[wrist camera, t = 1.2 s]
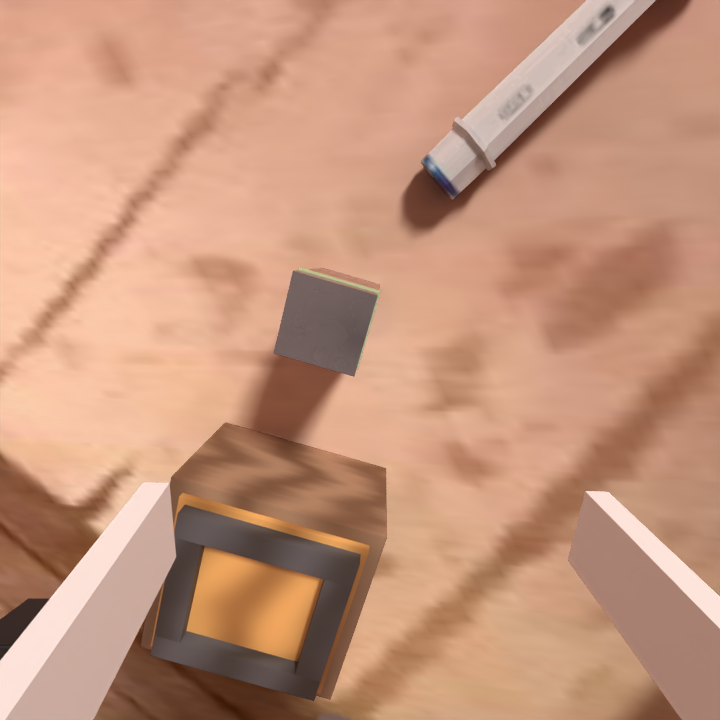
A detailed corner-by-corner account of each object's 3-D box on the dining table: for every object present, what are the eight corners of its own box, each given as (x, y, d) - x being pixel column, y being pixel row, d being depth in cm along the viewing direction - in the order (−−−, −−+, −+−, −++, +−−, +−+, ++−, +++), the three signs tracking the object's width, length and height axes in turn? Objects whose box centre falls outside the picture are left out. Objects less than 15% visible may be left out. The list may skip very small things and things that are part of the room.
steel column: (381, 283, 34) (380, 294, 23) (364, 340, 36) (355, 378, 24) (322, 266, 34) (291, 268, 23) (308, 324, 35) (271, 354, 24)
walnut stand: (386, 468, 38) (387, 552, 27) (342, 599, 42) (327, 720, 31) (225, 422, 38) (160, 488, 27) (196, 558, 42) (128, 665, 31)
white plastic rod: (413, 149, 28) (793, -244, 20) (415, 162, 35) (706, -134, 26) (461, 206, 29) (846, -151, 21) (455, 209, 35) (749, -65, 27)
